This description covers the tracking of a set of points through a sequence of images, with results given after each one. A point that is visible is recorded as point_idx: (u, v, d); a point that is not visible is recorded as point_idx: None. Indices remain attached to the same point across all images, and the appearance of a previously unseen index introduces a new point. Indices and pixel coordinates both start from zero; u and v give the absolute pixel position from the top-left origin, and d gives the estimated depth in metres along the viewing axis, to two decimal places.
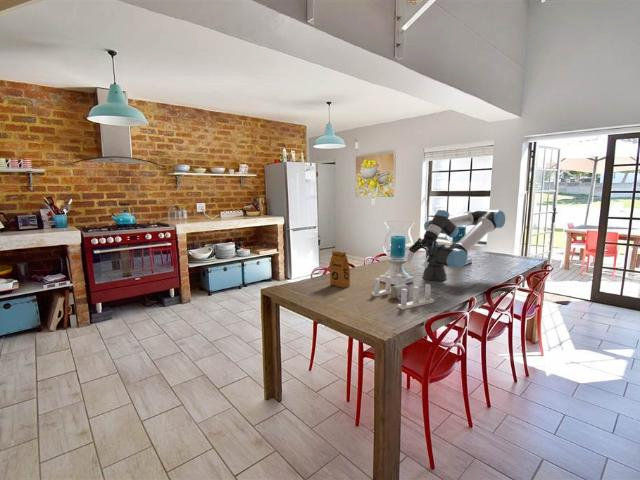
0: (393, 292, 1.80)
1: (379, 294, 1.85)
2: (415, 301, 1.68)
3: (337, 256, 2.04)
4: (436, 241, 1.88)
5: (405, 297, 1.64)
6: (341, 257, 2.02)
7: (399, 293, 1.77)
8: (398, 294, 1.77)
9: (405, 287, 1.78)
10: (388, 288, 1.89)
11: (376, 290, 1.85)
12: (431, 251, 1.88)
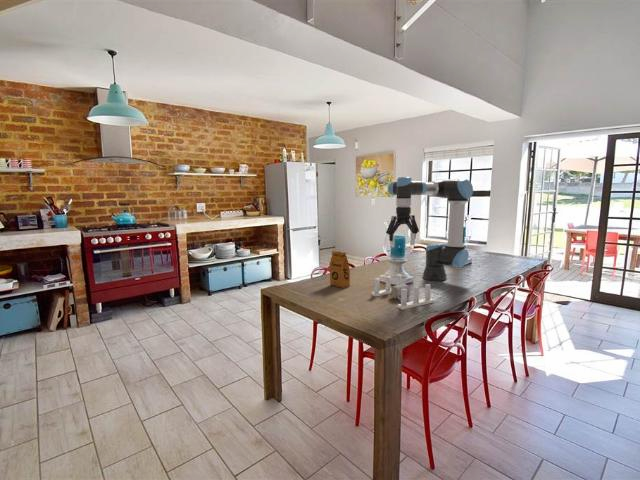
0: (393, 293, 1.80)
1: (379, 294, 1.85)
2: (415, 301, 1.68)
3: (337, 256, 2.04)
4: (413, 215, 1.76)
5: (405, 297, 1.64)
6: (341, 257, 2.02)
7: (399, 293, 1.76)
8: (398, 294, 1.76)
9: (405, 287, 1.78)
10: (388, 288, 1.89)
11: (376, 290, 1.85)
12: None
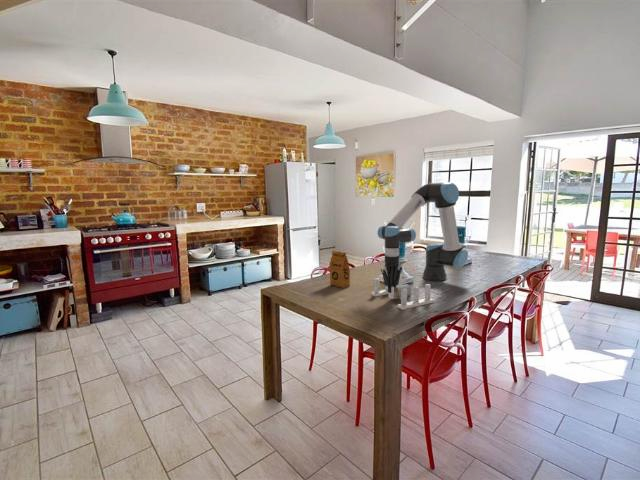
0: (395, 293, 1.78)
1: (379, 294, 1.85)
2: (415, 301, 1.68)
3: (337, 256, 2.04)
4: (401, 267, 1.77)
5: (405, 297, 1.64)
6: (341, 257, 2.02)
7: None
8: (400, 295, 1.75)
9: (407, 288, 1.77)
10: None
11: (376, 290, 1.85)
12: None
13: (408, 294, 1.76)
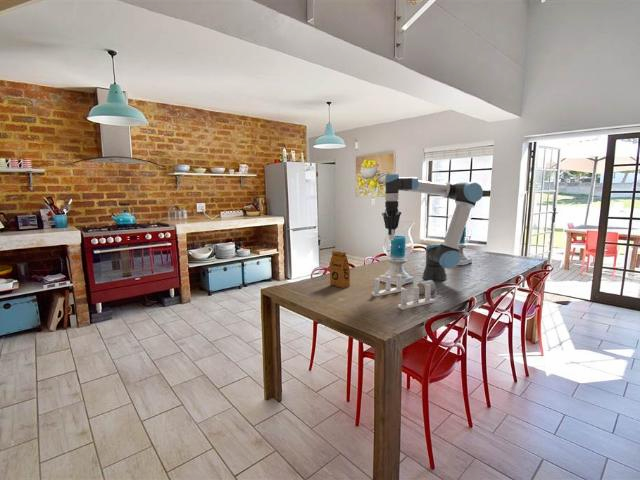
0: (420, 289, 1.85)
1: (379, 294, 1.85)
2: (415, 301, 1.68)
3: (337, 256, 2.04)
4: (400, 212, 1.96)
5: (405, 297, 1.64)
6: (341, 257, 2.02)
7: None
8: None
9: (432, 283, 1.84)
10: (388, 288, 1.89)
11: (376, 290, 1.85)
12: None
13: (433, 289, 1.83)
